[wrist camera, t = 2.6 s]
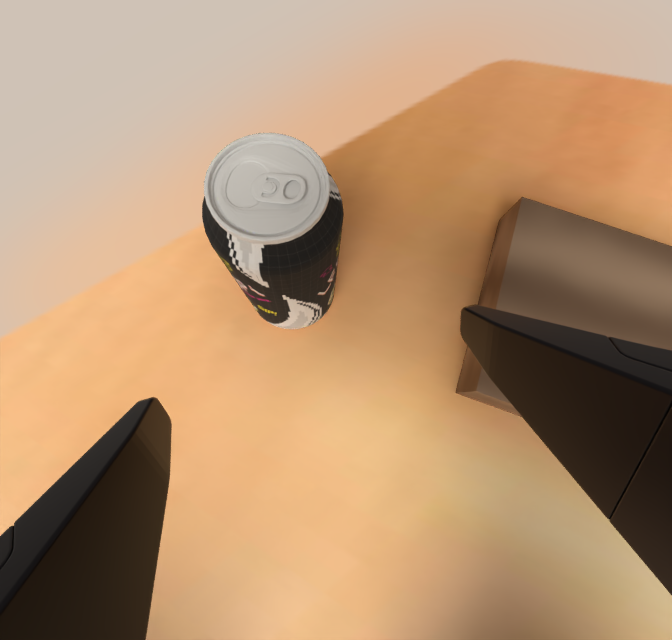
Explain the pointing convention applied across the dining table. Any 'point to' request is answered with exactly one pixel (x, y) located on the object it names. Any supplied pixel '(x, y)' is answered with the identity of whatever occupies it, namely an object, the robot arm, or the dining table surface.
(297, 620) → the dining table surface
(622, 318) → the walnut block
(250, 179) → the beverage can
